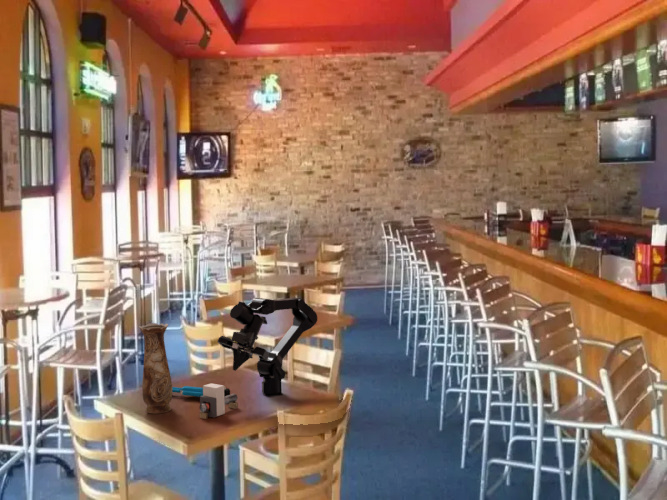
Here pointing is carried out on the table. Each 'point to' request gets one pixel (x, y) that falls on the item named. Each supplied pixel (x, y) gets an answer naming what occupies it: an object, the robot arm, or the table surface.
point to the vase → (156, 370)
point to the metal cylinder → (227, 400)
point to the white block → (215, 396)
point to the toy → (195, 391)
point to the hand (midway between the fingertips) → (234, 370)
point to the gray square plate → (212, 405)
